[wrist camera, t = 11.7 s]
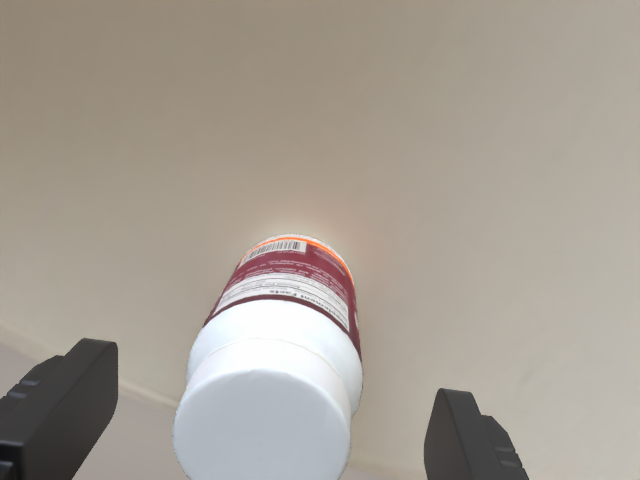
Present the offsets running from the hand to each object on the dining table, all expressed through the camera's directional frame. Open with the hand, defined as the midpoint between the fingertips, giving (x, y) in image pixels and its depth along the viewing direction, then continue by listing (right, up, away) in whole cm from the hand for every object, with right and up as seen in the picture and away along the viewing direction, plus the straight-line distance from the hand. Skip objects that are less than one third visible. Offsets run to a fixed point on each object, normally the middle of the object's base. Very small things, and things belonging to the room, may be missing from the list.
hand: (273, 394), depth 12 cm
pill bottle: (0, +2, +7) cm, 7 cm away
